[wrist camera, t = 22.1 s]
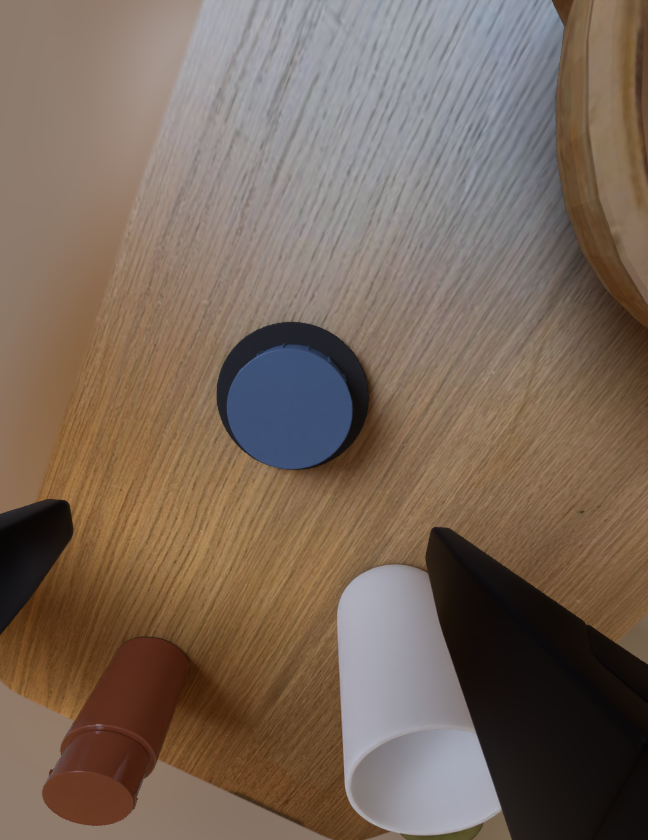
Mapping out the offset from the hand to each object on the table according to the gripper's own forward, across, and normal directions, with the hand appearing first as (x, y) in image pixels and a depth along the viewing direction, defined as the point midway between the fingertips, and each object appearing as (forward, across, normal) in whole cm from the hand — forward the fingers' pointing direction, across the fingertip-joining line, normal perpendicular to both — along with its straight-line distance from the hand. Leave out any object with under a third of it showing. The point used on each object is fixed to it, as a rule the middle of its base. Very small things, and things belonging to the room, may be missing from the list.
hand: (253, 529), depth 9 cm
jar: (+13, +10, +23) cm, 28 cm away
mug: (+13, -10, +16) cm, 23 cm away
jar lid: (+10, 0, 0) cm, 10 cm away
